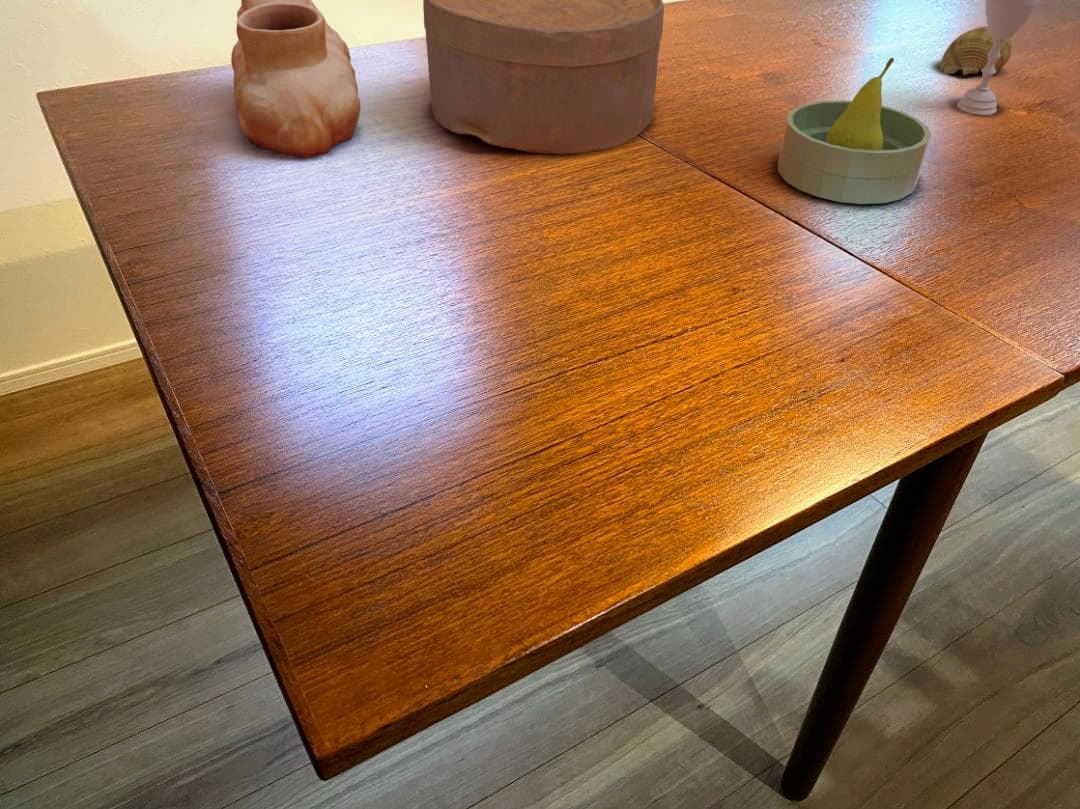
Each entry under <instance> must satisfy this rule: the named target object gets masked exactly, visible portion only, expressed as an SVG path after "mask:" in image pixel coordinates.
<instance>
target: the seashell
mask: <svg viewBox="0 0 1080 809" xmlns="http://www.w3.org/2000/svg"><path fill="white" fill-rule="evenodd" d="M993 45H994V37H992V36H991V35H989V33H988V26H980V27H976V28H973V29H970V30H968V31H966V32H964V33H961V34H960V35H958V36H957V37H956V38H955V39H954V40H953V41H952V42H951V43H950V44H949V45H948V46H947V48H946V50H945V51H944V53H943V54H942V57H941V60H940V62H939V66H938V69H939V71H940V72H942V73H943V74H945V75H947V76H948V75H952V74H955V73H957V72H959V71H960V70H961V73H962V75H963V76H967V75H969V74H970V75H972V74H974V75H975V74H978V73H979V72H981V73H982V71H981V69H983V68H984V67H985V66H986V64H987V63H988V56H987V54H988V53H989V52H990V50H991V48H992V47H993ZM1012 48H1013V46H1012V41H1011V38H1007V39H1004V41H1003V43H1002V44H1001V48H1000V55H1001V57H999V58H998V59H997V61H996V63H995V70H996V72H998V71H1000V70H1001V69H1003V68H1004V67H1005V65H1006V64H1007V63H1008V61H1009V60H1010V59H1011V55H1012V50H1013V49H1012Z"/></svg>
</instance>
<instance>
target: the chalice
mask: <svg viewBox="0 0 1080 809" xmlns="http://www.w3.org/2000/svg"><path fill="white" fill-rule="evenodd" d="M1040 2H1041V0H985V17H986V27H988V33H989V35H991V36H992V37H994V45H993V47H992V48H991V50H990V52H989V53H988V54H987V56H988V63H987V64H986V66H985V67H984V68H983V69H981V71H982V72H981V71H980V72H981V73H982V75H981V76H982V79H981V81H980V82H979V84H978V85H976V87H973V88H972V87H971V88H969V89H968V90H966V92H964V95H963V96H962V97H961V98H959V99H960V100H959V101H958V103H957V104H956V107H957V108H958V109H959V110H961V111H963V112H966V113H969V114H973V115H974V114H975V115H984V116H985V115H986V116H987V115H993V114H995V113H997V111H998V110H997V105H998V104H997V101H996V100H997V96H996V93H995V92H994V91H992V90H990V89H991V87H990V86H989V85H990V81H991V79H992V77H993V75H994V74H996V73H997V71H996V70H995V63H996V61H997V59H998V58H999V57H1001V55H1000V48H1001V44H1002V43H1003V41H1004V39H1007V38H1009V39H1011V38H1013V37H1014V36H1015V35H1016V34H1017V32H1018V31H1019V30H1020V29H1021V28H1022V26H1023V25H1024V24H1025V23H1026V22H1027V20H1029V18H1030V17H1031V15H1032V14H1033V12H1034V11H1035V9H1036V8H1037V7H1038V5H1039V4H1040Z"/></svg>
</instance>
